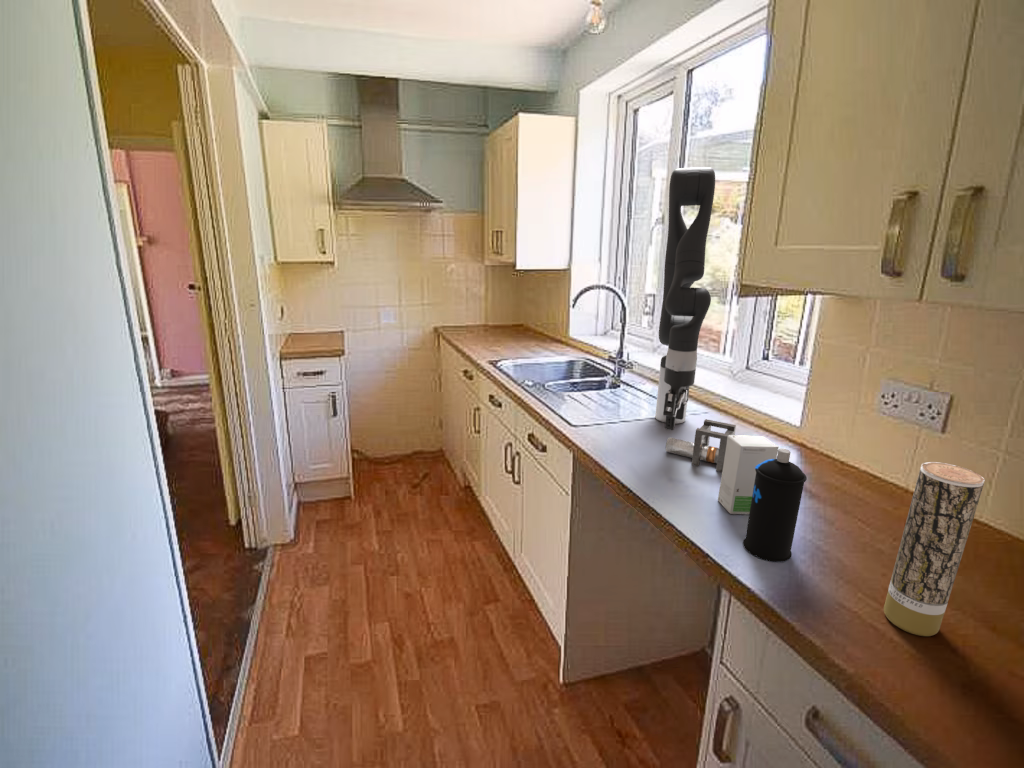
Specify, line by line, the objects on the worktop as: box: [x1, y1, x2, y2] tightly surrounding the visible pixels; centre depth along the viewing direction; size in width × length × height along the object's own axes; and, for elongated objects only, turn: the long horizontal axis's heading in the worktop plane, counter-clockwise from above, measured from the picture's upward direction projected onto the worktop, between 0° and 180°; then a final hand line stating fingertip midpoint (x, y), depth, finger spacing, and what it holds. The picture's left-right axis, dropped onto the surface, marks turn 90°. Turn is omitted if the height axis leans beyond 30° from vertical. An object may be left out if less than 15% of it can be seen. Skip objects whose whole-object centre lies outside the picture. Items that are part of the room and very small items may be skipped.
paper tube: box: [883, 461, 985, 637], centre depth 74 cm, size 7×7×25 cm
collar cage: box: [691, 418, 737, 473], centre depth 130 cm, size 10×8×10 cm
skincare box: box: [717, 434, 780, 515], centre depth 107 cm, size 8×7×16 cm
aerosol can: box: [742, 448, 807, 563], centre depth 92 cm, size 8×8×20 cm
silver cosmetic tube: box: [665, 437, 719, 465], centre depth 133 cm, size 16×4×4 cm, turn 56°
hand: (674, 423), depth 135 cm, fingers open, 8 cm apart
